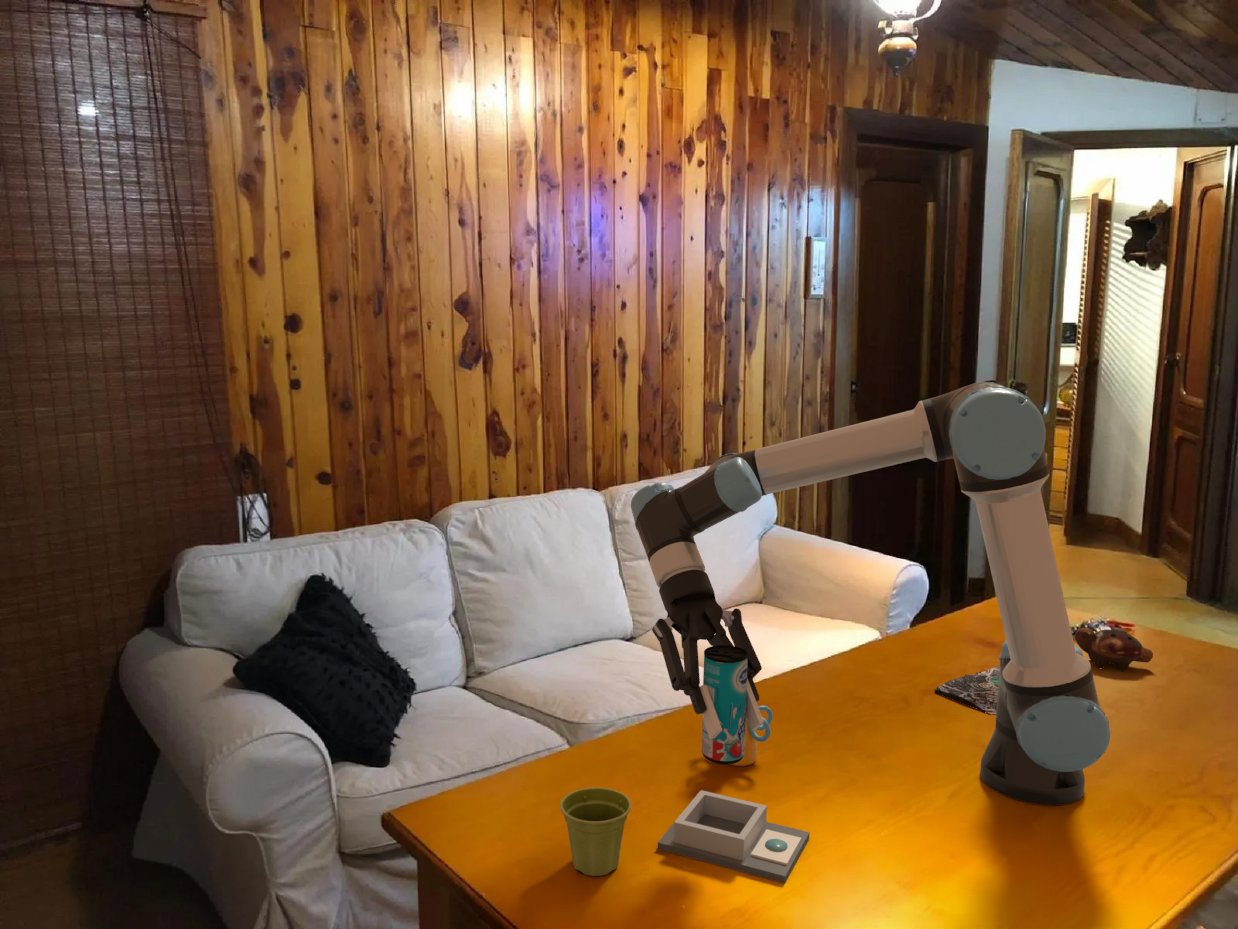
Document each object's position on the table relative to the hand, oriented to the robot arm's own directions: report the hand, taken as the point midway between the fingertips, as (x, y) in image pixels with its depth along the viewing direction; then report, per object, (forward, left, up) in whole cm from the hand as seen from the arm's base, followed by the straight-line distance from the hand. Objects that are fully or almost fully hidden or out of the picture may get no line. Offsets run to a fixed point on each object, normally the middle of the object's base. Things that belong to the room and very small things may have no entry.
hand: (737, 730), depth 130 cm
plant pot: (+16, +11, -18) cm, 26 cm away
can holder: (+1, -2, -18) cm, 18 cm away
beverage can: (+3, -2, -6) cm, 7 cm away
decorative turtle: (-47, -103, -18) cm, 115 cm away
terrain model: (-28, -76, -19) cm, 83 cm away
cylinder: (+9, -27, -18) cm, 34 cm away
